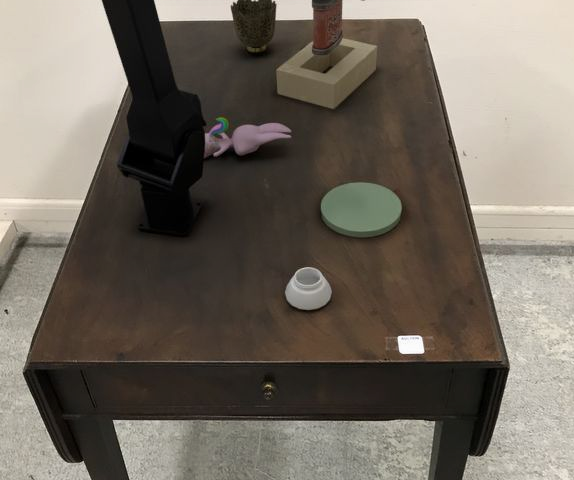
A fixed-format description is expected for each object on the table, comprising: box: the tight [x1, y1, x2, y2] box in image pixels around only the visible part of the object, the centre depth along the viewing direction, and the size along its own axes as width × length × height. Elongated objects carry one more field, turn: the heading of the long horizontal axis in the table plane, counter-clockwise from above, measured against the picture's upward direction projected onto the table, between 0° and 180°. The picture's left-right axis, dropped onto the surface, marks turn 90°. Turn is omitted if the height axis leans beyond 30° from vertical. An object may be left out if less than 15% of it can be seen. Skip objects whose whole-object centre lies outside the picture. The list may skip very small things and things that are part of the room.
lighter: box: [311, 0, 344, 56], centre depth 102 cm, size 8×3×10 cm, turn 156°
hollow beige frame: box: [275, 37, 378, 110], centre depth 109 cm, size 14×11×4 cm
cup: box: [230, 0, 278, 56], centre depth 116 cm, size 8×7×8 cm
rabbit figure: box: [204, 116, 292, 159], centre depth 95 cm, size 6×6×15 cm
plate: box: [320, 181, 403, 238], centre depth 87 cm, size 10×10×1 cm
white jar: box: [284, 266, 333, 311], centre depth 76 cm, size 5×3×5 cm
